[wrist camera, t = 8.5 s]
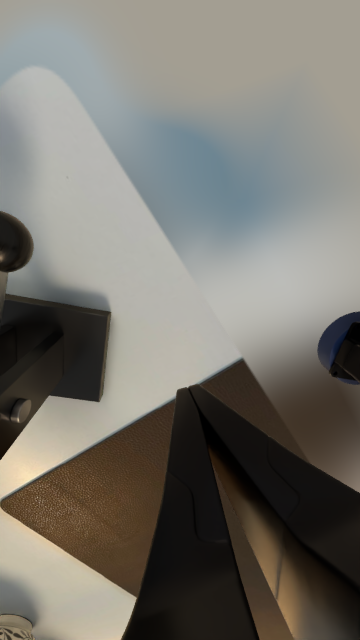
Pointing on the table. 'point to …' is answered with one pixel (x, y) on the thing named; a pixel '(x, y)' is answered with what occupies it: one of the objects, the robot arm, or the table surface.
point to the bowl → (15, 628)
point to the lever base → (47, 358)
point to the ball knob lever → (12, 250)
